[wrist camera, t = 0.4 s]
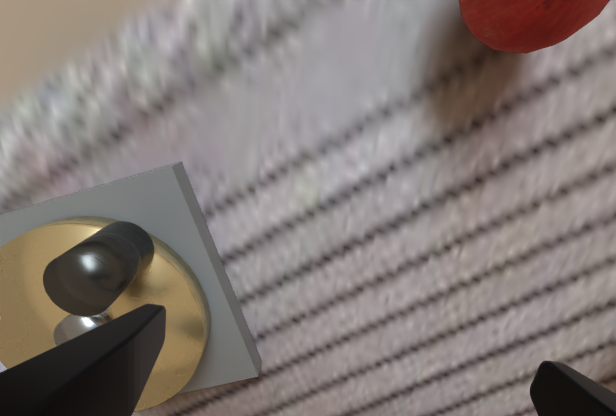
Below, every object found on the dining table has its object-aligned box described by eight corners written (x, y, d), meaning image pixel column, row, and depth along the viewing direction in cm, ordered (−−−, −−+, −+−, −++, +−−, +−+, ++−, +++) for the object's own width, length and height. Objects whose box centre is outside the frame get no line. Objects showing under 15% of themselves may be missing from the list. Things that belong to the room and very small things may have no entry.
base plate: (261, 360, 25) (258, 376, 23) (74, 402, 26) (60, 420, 25) (181, 161, 20) (171, 166, 19) (-39, 226, 22) (-63, 235, 20)
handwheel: (238, 371, 23) (217, 453, 18) (63, 411, 24) (-5, 498, 19) (159, 189, 19) (102, 225, 14) (-44, 248, 20) (-167, 301, 15)
